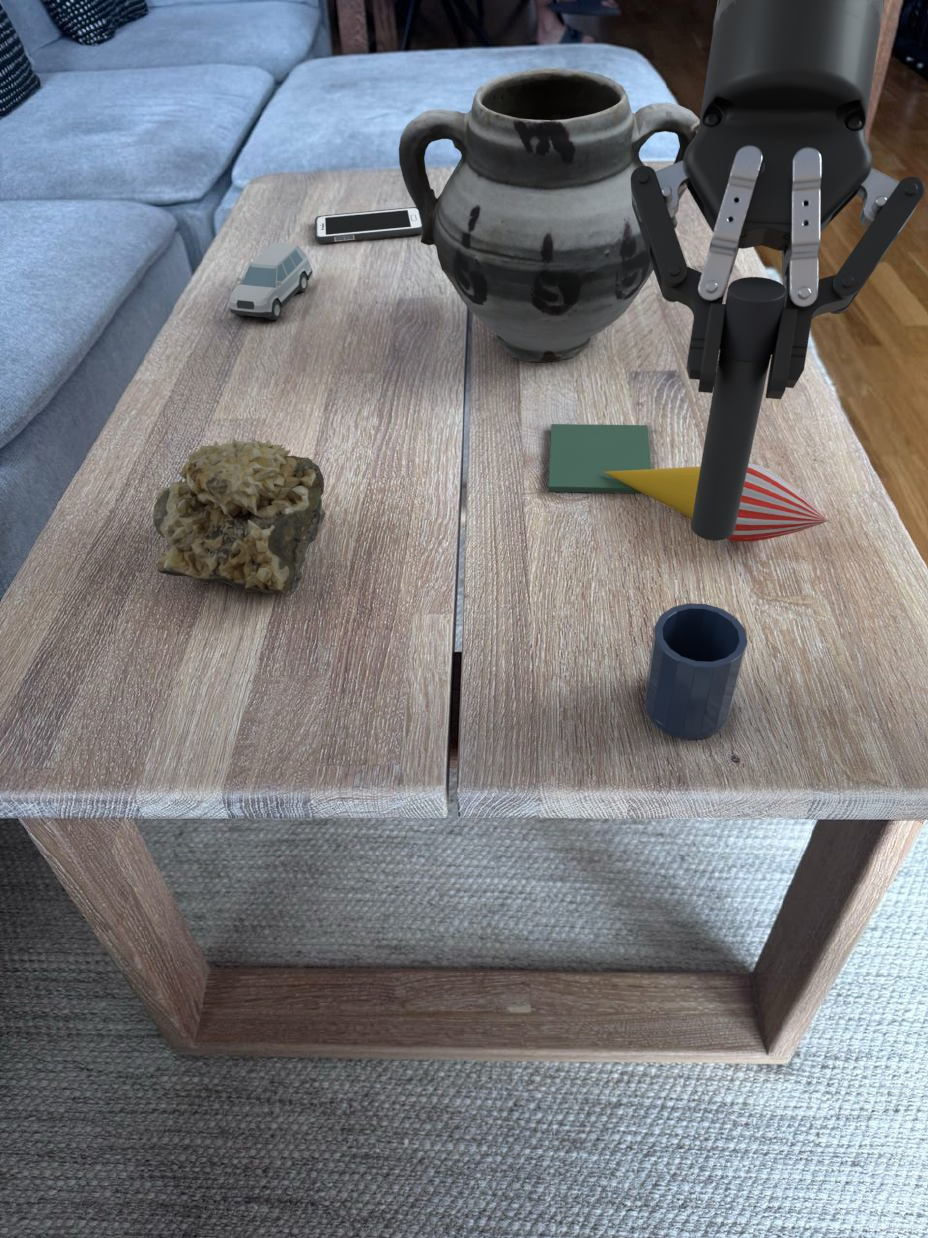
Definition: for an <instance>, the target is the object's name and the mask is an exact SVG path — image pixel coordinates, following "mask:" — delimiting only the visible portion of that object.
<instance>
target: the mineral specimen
mask: <svg viewBox="0 0 928 1238" xmlns="http://www.w3.org/2000/svg"><path fill="white" fill-rule="evenodd" d="M286 448H287V447H286V446H284V447H283V444H272V439H271V438H269V439H268V440H266V442H263V441H262V440H258V441H257V440H255V439H254V438H251V441H244V440H236V439H235V438H233V440H232V443H231V442H227V443H222V444H221V445H220V444H219V442H218V441H217V440H215V442H214V444H212V445H211V444H209V445H200V447H199V449H198V450H195V451H192V452H189V453H188V454H187V458H188V461H187V462H186V463H185V464H184V465H183V467H182V470H181V471H180V472H178V474H179V475H180V477H181V478H183V479H184V481H182V479H179V480H178V481H174V482H172V483H171V485H170V486H169V487H164V488H162V490H161V491H159V492H158V493H157V494H156V496H155V499H156V502H155V504H154V506H153V512H152V517H153V518H152V521H153V524H154V527H155V530H156V532H157V533H158V534H159V535H160V537H162V538H163V540H165V541H166V542H167V544H168V549H167V550H166V551H163V554H162V555H161V557H160V558H158V559H156V561H157V564H156V566H157V567H156V568H157V571H158V573H160V574H164V575H169V576H171V577H184V576H185V577H190V578H195V579H196V578H197V579H199V580H202V581H205V582H208V583H225V584H228V585H230V586H231V587H232V588H234V589H235V590H237V591H242V592H243V591H244V592H247V593H251V592H252V593H253V592H262V593H264V594H269V595H273V596H274V595H280V596H281V595H282V596H287V595H292V594H293V593H295V591H296V589H297V588H298V586H299V583H300V581H301V580H302V579H303V574H302V571H301V569H302V567H303V565H304V564H305V561H306V552H307V550H308V549H309V546H310V545H311V543H313V542H314V541H315V540H316V539H317V538H318V534H319V532H320V529H321V527H322V525H323V523H324V521H325V517H326V514H327V513H326V512H325V511H326V510H324V508H323V499H322V496H323V494H324V492H325V482H324V481H325V478H324V475H323V473H322V471H321V469H320V467H319V465H318V464H316V463H315V462H313V460H312V458H310V457H301V456H296V455H289V454H290V453H291V450H286Z"/></svg>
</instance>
